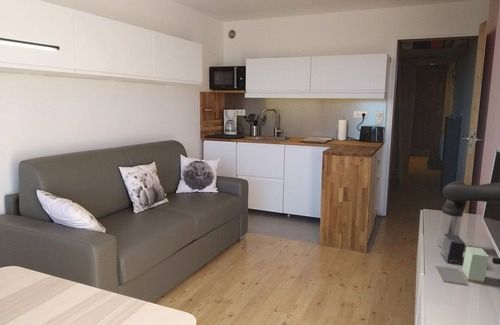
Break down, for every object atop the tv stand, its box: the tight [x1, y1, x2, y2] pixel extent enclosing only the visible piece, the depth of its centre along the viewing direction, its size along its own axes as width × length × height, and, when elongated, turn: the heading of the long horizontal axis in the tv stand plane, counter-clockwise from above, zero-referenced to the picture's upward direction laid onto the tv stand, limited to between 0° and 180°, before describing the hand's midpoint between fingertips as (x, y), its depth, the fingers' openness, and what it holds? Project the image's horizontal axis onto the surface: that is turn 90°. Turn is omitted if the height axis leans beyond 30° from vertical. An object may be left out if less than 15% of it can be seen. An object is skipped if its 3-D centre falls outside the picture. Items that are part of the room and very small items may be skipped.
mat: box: [435, 265, 469, 286], centre depth 161 cm, size 14×9×1 cm, turn 167°
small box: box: [440, 233, 466, 266], centre depth 176 cm, size 11×6×10 cm, turn 168°
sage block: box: [461, 245, 490, 285], centre depth 159 cm, size 8×6×12 cm
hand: (493, 260), depth 157 cm, fingers closed
